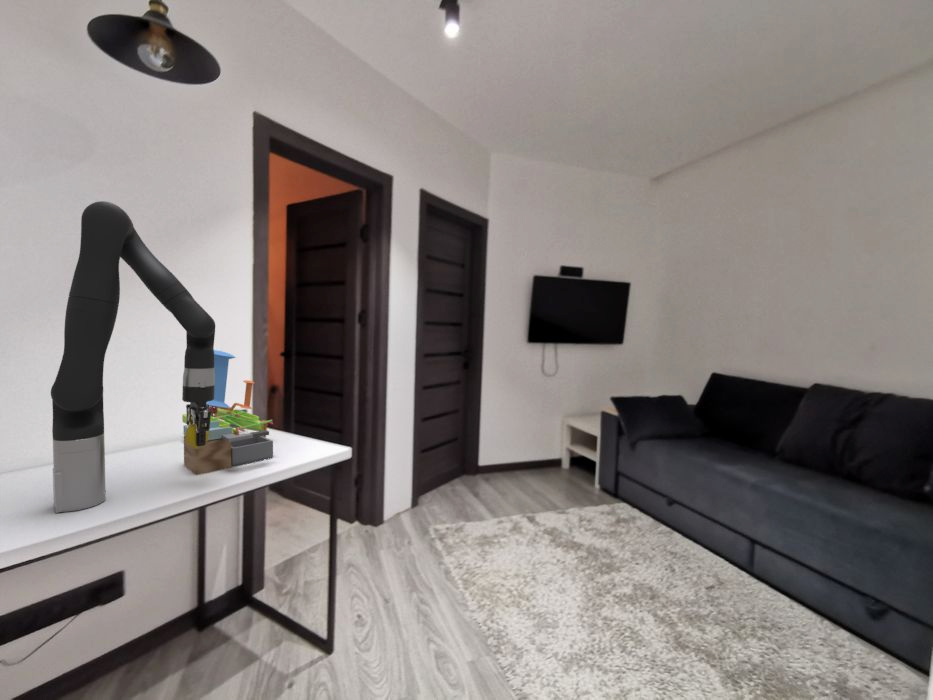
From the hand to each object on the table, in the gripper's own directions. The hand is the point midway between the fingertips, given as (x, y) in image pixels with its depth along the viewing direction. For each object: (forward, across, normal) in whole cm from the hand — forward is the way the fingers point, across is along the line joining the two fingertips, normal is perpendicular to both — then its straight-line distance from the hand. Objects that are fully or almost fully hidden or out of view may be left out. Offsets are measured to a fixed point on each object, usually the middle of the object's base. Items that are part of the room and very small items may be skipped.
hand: (197, 443), depth 114 cm
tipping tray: (+2, -12, +11) cm, 17 cm away
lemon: (+2, 0, 0) cm, 2 cm away
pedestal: (+12, -15, +7) cm, 21 cm away
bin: (+11, -16, +19) cm, 27 cm away
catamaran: (+12, -41, +21) cm, 47 cm away
